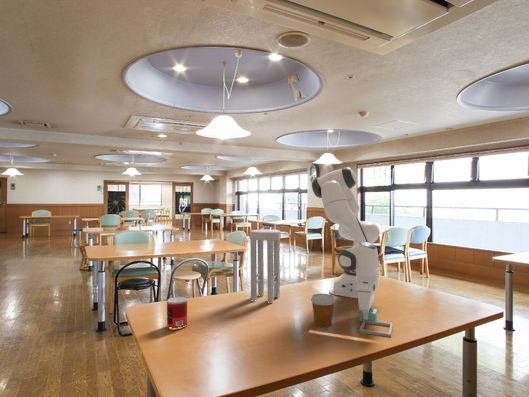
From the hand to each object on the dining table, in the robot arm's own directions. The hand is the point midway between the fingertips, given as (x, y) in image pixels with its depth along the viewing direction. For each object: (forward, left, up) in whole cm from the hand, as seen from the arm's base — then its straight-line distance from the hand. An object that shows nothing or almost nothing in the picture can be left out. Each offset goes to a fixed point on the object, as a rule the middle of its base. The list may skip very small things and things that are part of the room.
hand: (367, 315), depth 137 cm
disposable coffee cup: (-15, -13, -3) cm, 20 cm away
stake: (+1, 0, -2) cm, 2 cm away
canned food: (-69, -36, -3) cm, 78 cm away
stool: (-51, +11, -3) cm, 53 cm away
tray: (+5, -10, -2) cm, 11 cm away
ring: (+1, 0, -1) cm, 2 cm away
